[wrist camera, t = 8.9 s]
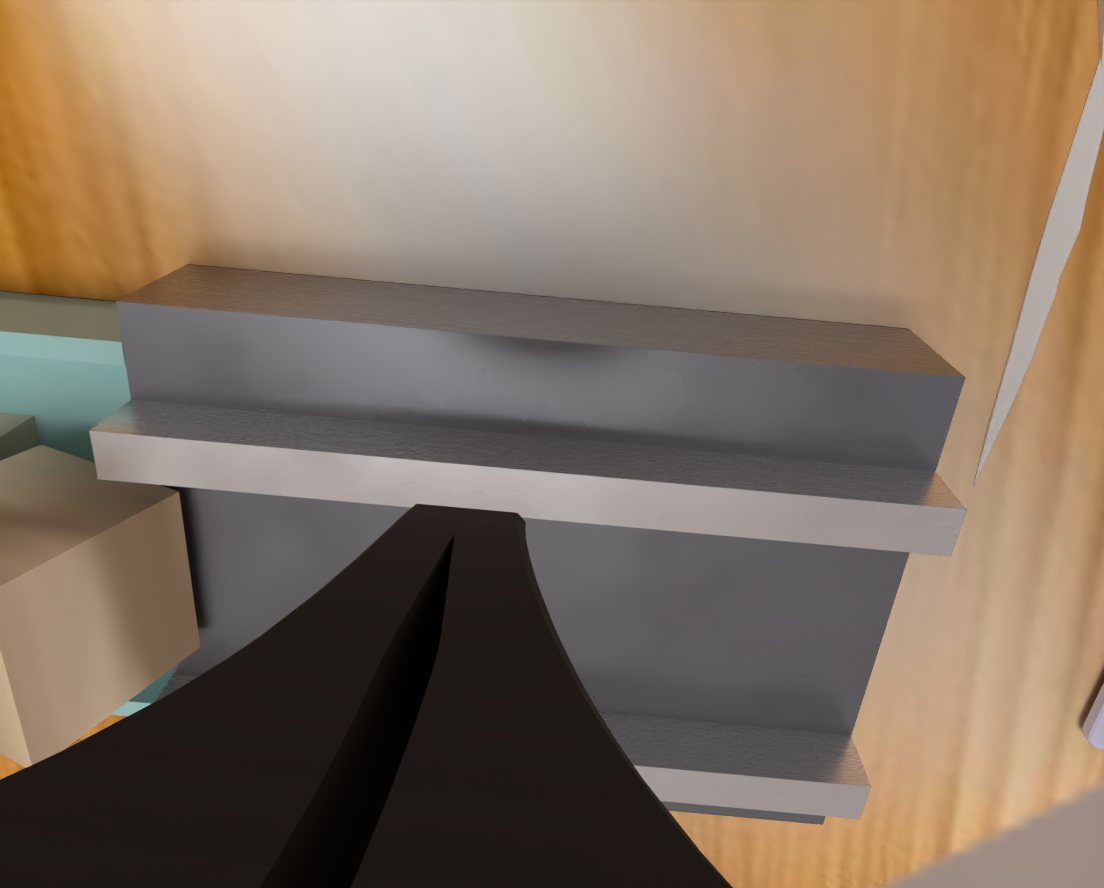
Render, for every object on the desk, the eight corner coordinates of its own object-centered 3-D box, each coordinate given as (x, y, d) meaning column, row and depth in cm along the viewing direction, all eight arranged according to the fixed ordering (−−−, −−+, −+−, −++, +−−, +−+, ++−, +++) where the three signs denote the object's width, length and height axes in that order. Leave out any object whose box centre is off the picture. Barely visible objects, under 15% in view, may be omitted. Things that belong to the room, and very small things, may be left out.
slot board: (908, 329, 18) (1001, 408, 14) (795, 734, 23) (839, 878, 19) (186, 264, 18) (70, 324, 14) (234, 683, 23) (159, 816, 19)
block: (178, 491, 17) (-15, 594, 13) (200, 646, 18) (33, 772, 15) (41, 444, 18) (-167, 527, 15) (72, 593, 20) (-106, 697, 16)
